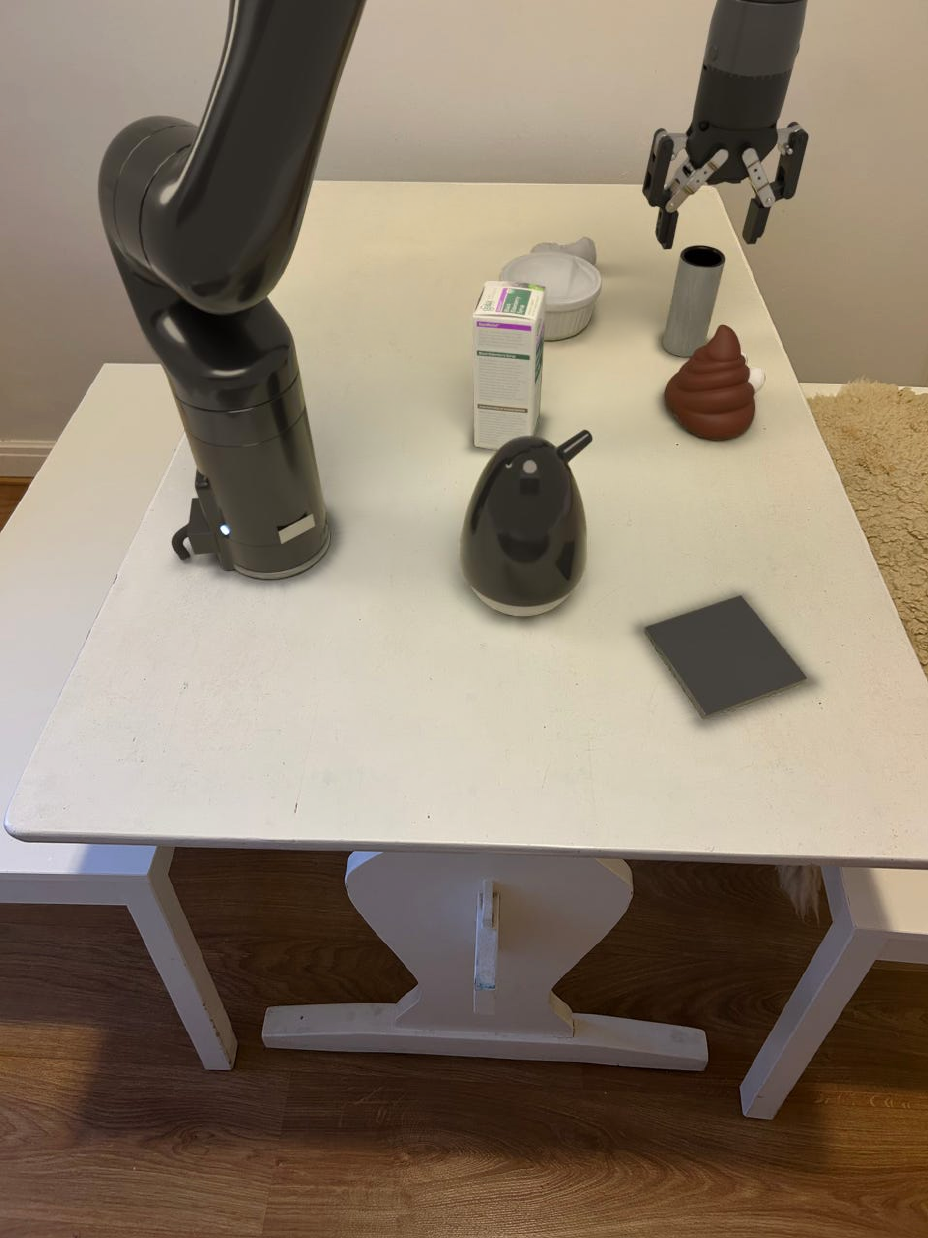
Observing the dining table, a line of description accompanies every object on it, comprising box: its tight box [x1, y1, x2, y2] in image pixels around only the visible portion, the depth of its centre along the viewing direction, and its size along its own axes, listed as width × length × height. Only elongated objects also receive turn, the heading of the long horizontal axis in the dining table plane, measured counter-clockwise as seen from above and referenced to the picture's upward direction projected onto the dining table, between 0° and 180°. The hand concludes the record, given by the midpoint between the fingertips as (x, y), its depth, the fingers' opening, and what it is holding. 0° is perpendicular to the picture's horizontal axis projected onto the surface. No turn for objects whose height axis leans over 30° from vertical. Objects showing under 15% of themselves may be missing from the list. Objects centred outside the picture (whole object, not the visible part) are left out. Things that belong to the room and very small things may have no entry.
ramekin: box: [498, 252, 603, 341], centre depth 94 cm, size 11×11×5 cm
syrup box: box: [471, 280, 547, 451], centre depth 77 cm, size 6×6×14 cm
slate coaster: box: [643, 594, 808, 720], centre depth 65 cm, size 9×9×1 cm
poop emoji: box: [663, 324, 766, 441], centre depth 81 cm, size 10×8×9 cm
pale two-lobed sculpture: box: [529, 236, 598, 267], centre depth 101 cm, size 4×8×5 cm
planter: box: [662, 244, 727, 358], centre depth 88 cm, size 4×4×10 cm
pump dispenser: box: [458, 429, 593, 617], centre depth 64 cm, size 10×10×15 cm
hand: (706, 243), depth 83 cm, fingers open, 8 cm apart
